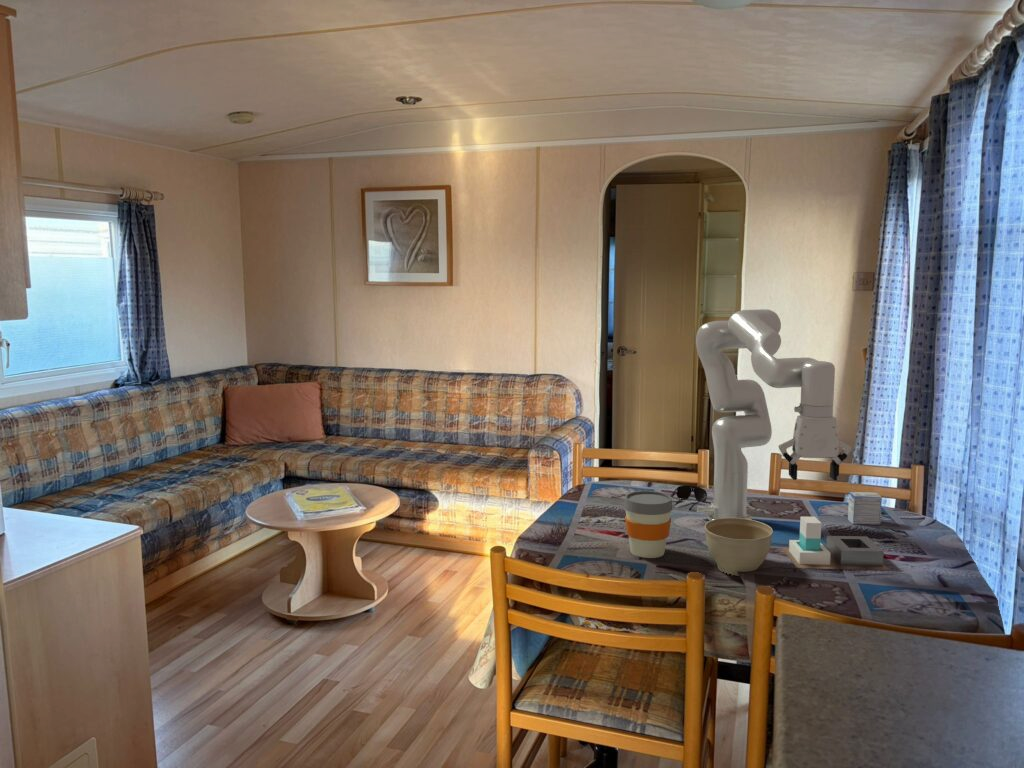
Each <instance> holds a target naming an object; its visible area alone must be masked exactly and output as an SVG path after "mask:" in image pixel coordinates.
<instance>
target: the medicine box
mask: <svg viewBox="0 0 1024 768" xmlns="http://www.w3.org/2000/svg"><path fill="white" fill-rule="evenodd" d="M848 494H849V495H848V511H847V519H848V520H847V521H849V522H850V523H851V524H852V525H881V520H882V519H881V518H882V504H883V502H882V501H883V497H882V496H881V495H880V494H878V493H877V492H873V491H872V492H869V491H868V492H866V491H853V492H851V491H850V492H848Z"/></svg>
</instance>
